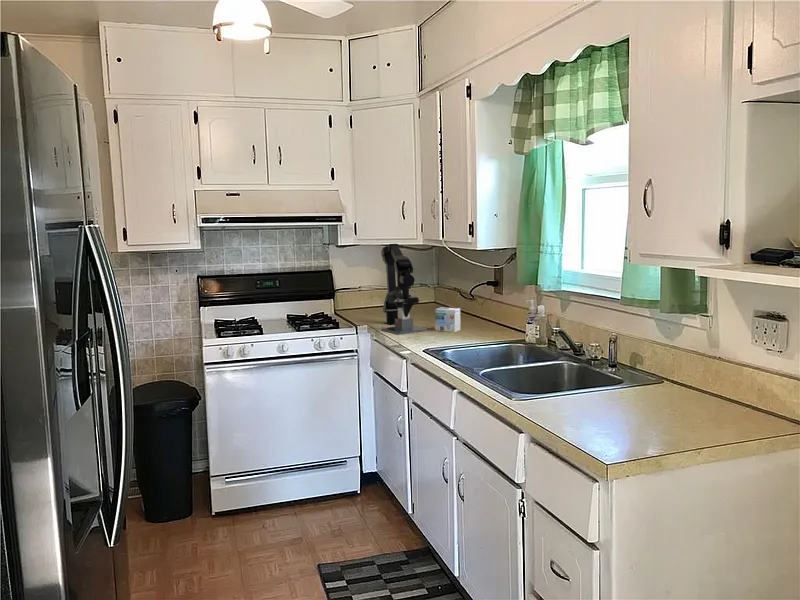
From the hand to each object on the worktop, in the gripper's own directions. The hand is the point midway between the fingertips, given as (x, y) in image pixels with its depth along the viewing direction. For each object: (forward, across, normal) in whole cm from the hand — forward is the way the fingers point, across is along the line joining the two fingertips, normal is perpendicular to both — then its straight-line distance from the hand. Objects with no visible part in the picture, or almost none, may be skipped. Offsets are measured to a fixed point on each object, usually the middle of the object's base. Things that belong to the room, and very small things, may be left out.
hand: (403, 316), depth 328 cm
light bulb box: (+7, +13, +17) cm, 23 cm away
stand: (+7, 0, 0) cm, 7 cm away
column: (+6, 0, 0) cm, 6 cm away
